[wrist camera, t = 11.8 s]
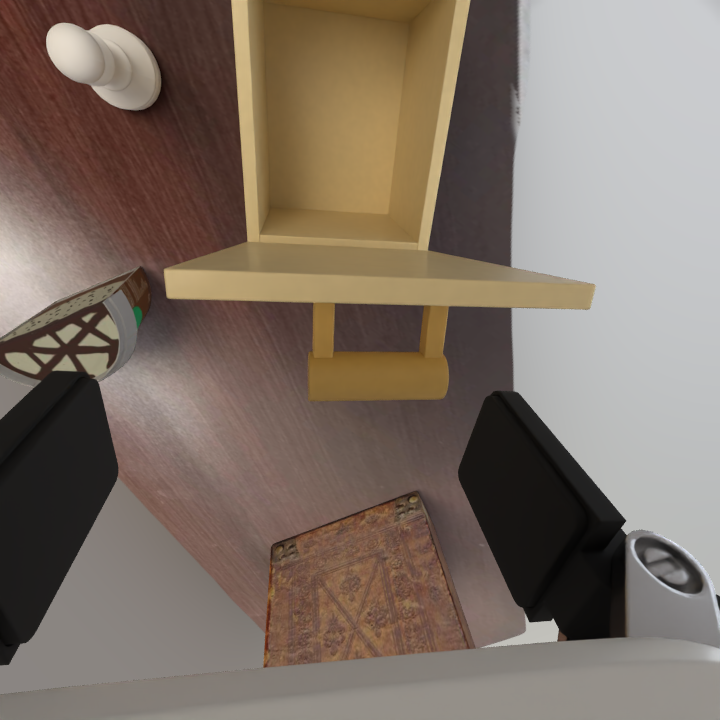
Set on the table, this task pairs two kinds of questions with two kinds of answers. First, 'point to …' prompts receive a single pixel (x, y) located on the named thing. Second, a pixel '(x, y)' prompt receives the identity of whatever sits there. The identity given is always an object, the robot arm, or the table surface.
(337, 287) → the lid
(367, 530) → the book
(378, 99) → the light wooden open box
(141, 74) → the chess pawn
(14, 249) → the table surface
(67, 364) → the food container
